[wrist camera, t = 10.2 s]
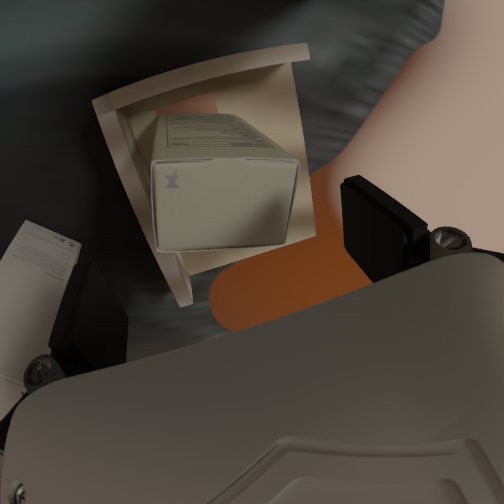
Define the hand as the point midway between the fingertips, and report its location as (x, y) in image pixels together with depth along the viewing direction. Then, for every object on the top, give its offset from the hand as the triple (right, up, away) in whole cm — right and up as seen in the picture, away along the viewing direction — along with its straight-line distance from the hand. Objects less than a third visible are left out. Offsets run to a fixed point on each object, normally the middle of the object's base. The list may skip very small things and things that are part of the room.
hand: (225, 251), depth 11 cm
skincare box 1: (-19, -1, +15) cm, 24 cm away
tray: (-1, +7, +14) cm, 16 cm away
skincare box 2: (-3, +9, +12) cm, 15 cm away
